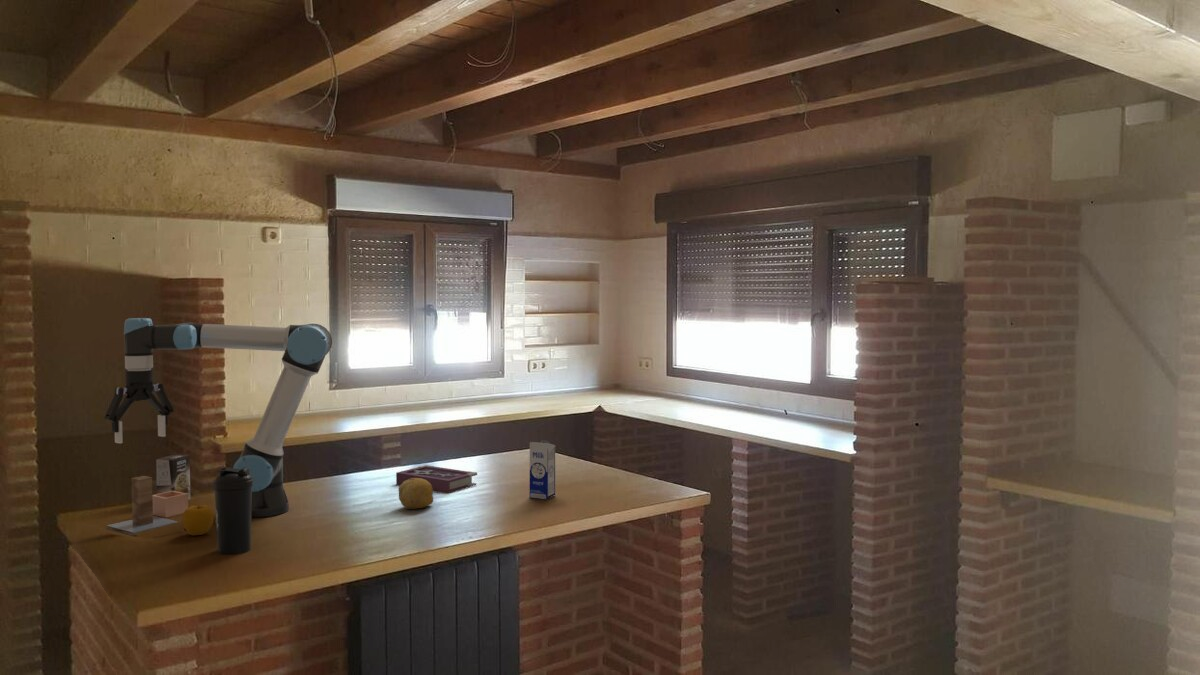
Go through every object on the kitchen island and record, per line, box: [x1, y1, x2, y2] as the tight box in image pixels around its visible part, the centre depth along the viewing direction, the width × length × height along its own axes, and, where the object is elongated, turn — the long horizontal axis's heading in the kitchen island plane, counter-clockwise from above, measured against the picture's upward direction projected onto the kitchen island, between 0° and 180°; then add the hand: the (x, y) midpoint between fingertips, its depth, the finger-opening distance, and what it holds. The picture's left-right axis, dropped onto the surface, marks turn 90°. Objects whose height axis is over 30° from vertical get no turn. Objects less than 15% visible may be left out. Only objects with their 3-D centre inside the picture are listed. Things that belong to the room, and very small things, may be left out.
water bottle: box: [212, 466, 253, 556], centre depth 243 cm, size 10×10×23 cm
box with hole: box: [152, 491, 189, 519], centre depth 278 cm, size 8×8×7 cm
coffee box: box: [155, 454, 191, 500], centre depth 293 cm, size 9×6×16 cm
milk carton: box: [529, 439, 556, 500], centre depth 308 cm, size 7×7×20 cm
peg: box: [130, 475, 154, 526], centre depth 265 cm, size 4×4×14 cm
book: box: [395, 464, 478, 494], centre depth 326 cm, size 25×16×5 cm, turn 59°
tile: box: [106, 515, 179, 537], centre depth 266 cm, size 14×14×1 cm
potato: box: [398, 478, 434, 510], centre depth 292 cm, size 10×12×10 cm
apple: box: [181, 504, 215, 537], centre depth 258 cm, size 8×8×9 cm
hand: (140, 439), depth 265 cm, fingers open, 13 cm apart
